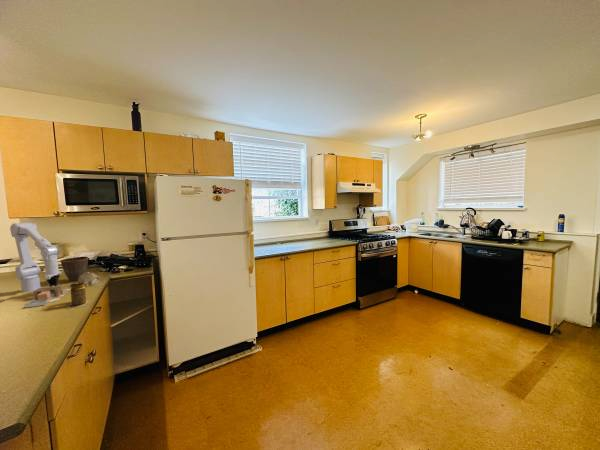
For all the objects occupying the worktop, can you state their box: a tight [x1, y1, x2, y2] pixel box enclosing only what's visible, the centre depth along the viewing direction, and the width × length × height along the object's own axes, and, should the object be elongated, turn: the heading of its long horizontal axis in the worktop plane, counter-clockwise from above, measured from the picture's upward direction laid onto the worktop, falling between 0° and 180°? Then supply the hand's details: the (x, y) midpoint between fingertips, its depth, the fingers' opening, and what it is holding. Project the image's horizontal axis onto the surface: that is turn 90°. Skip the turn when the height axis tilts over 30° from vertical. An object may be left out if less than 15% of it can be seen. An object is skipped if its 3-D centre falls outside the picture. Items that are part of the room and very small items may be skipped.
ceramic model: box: [78, 271, 102, 288], centre depth 168 cm, size 14×11×10 cm
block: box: [37, 291, 51, 300], centre depth 141 cm, size 4×4×4 cm
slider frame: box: [25, 284, 56, 308], centre depth 142 cm, size 23×7×5 cm, turn 27°
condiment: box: [66, 281, 89, 309], centre depth 136 cm, size 7×8×12 cm
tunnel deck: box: [21, 285, 71, 308], centre depth 147 cm, size 26×14×6 cm, turn 27°
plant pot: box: [60, 256, 89, 283], centre depth 180 cm, size 15×15×16 cm
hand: (53, 287), depth 153 cm, fingers closed
